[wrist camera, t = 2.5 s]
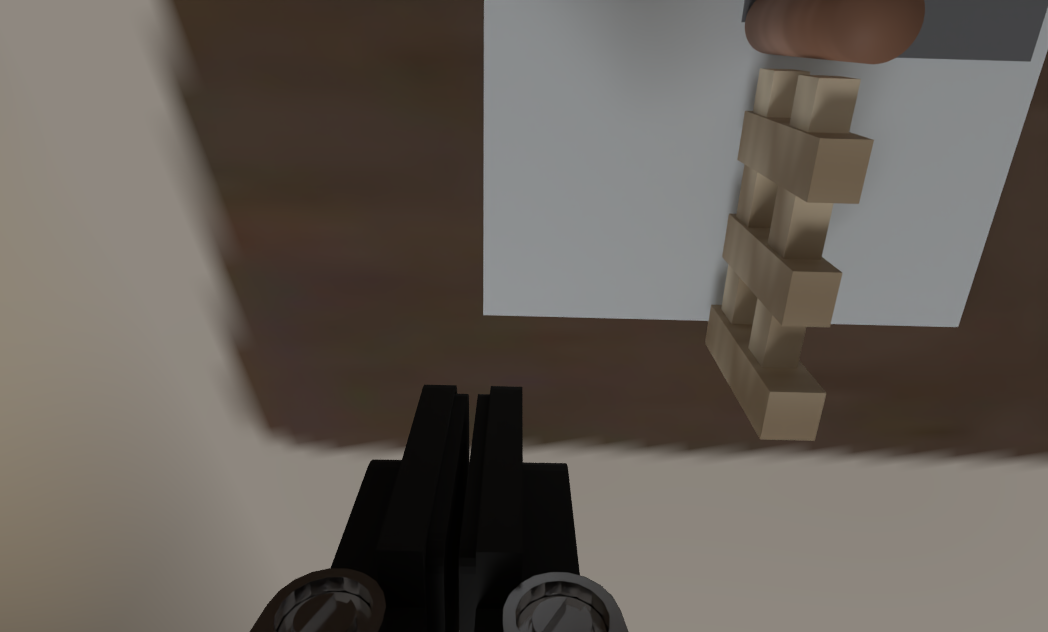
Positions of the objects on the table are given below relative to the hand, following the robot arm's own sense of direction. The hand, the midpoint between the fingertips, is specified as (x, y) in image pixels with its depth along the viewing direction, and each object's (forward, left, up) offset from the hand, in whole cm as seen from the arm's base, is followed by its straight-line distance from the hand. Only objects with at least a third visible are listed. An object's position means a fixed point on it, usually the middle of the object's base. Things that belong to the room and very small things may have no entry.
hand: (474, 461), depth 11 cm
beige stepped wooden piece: (-3, +7, -8) cm, 11 cm away
